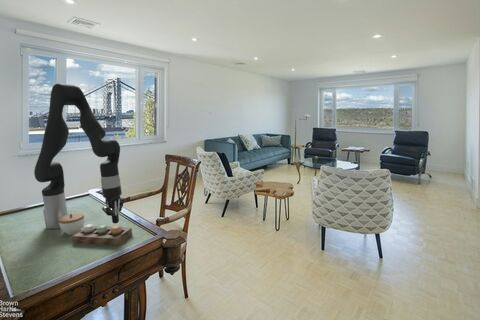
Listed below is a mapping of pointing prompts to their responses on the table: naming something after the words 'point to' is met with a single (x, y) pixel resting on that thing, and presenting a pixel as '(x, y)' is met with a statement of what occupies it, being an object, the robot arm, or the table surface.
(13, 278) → the table surface
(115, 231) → the button terracotta
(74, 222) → the lidded jar
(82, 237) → the wooden tray
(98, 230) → the button sage
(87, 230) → the button ivory
